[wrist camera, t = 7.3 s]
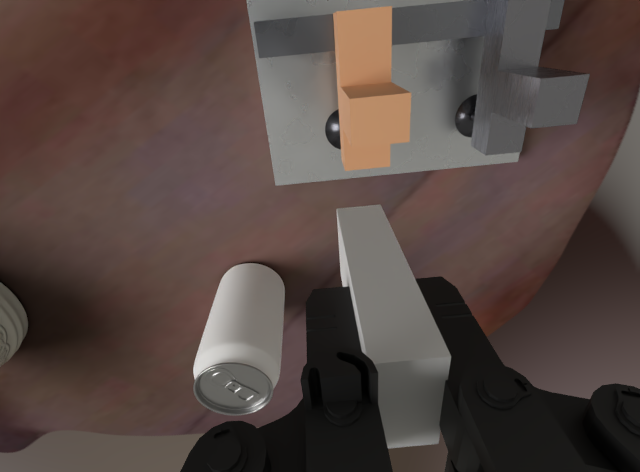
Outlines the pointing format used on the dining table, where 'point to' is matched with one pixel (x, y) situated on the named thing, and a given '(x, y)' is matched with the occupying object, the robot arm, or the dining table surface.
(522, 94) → the grey assembly fixture
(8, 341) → the jar
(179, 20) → the dining table surface
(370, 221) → the robot arm
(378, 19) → the orange t-shaped block
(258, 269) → the can
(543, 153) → the dining table surface
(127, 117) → the dining table surface
